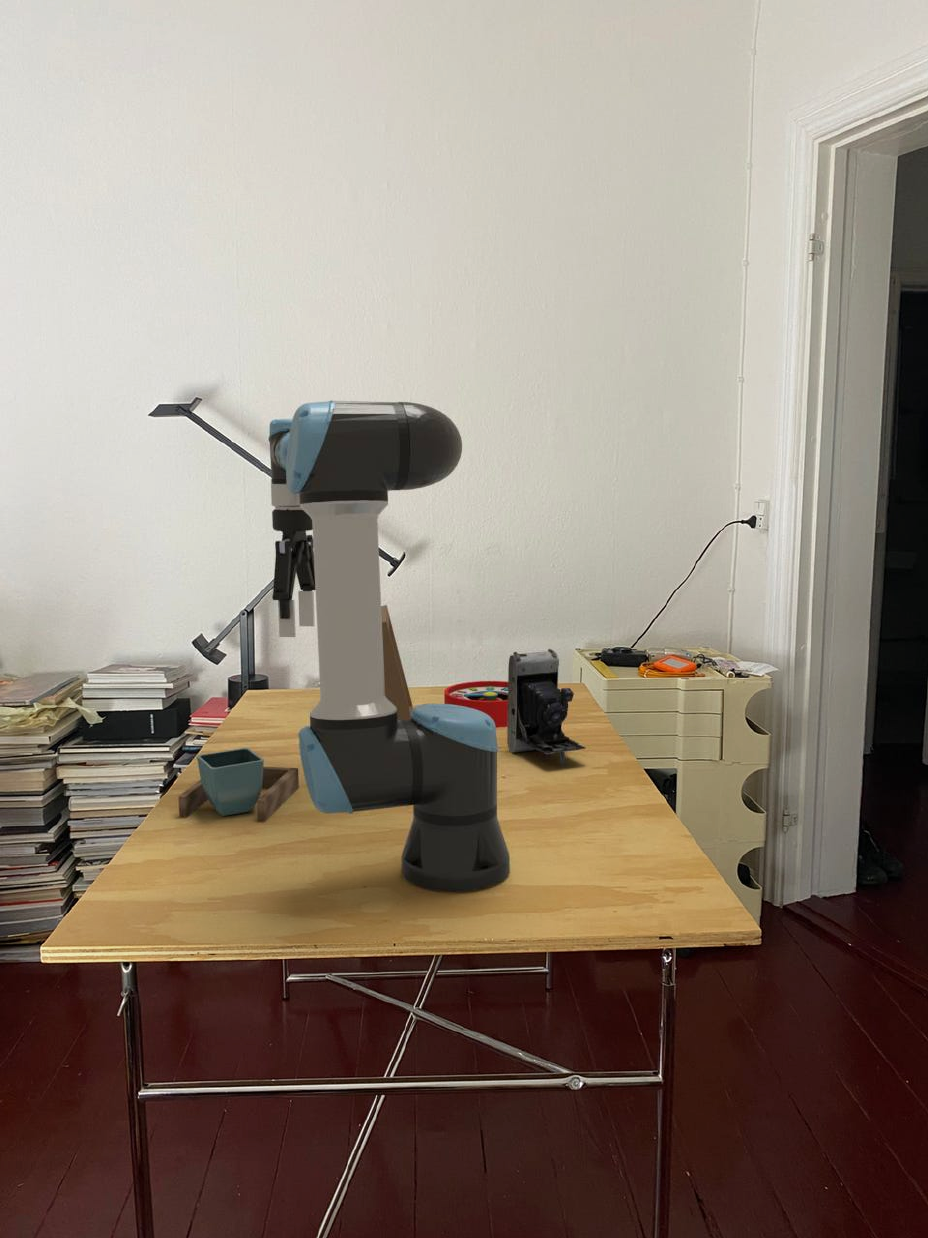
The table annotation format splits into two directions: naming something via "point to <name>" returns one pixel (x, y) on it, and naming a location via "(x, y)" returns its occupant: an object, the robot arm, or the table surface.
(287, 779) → the wooden tray rim
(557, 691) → the vintage camera
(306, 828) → the table surface
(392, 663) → the photo frame
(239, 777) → the flower pot
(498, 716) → the toy clock
